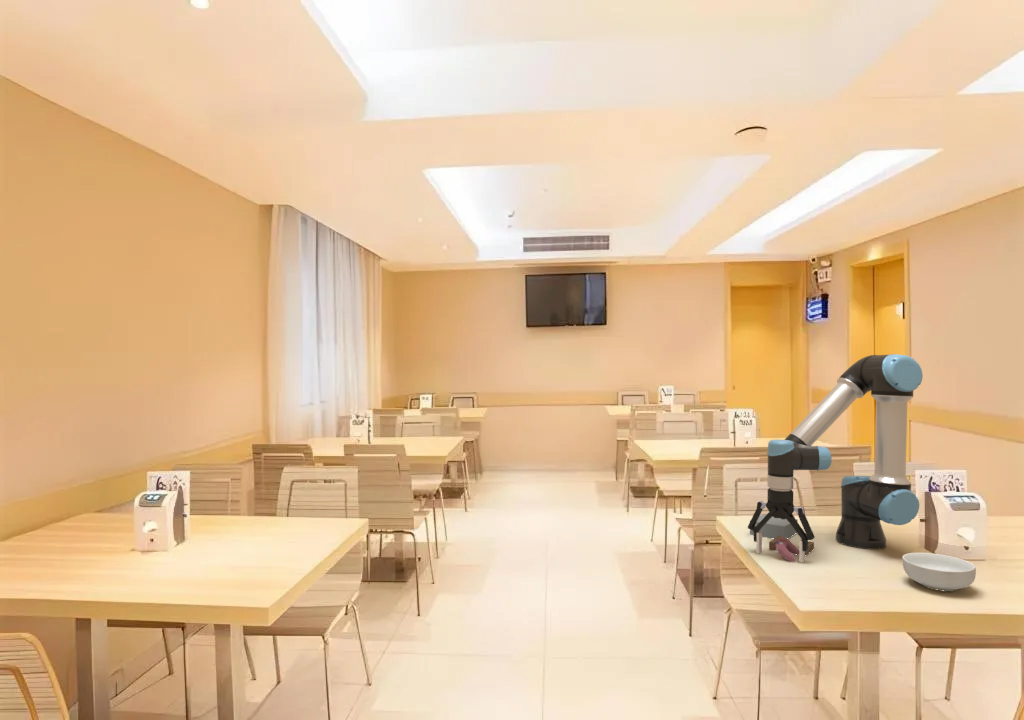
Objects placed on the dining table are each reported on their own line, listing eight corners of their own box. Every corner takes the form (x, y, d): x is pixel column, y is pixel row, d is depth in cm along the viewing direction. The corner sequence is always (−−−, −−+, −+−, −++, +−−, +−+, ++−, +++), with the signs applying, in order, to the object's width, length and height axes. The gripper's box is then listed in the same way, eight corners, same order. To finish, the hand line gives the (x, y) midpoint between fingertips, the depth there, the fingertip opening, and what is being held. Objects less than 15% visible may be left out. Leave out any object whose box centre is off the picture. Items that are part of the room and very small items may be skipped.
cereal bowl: (906, 572, 180) (906, 548, 180) (977, 585, 169) (977, 559, 169) (898, 588, 167) (898, 562, 167) (974, 603, 156) (974, 575, 156)
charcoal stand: (797, 533, 222) (797, 519, 222) (784, 541, 211) (784, 526, 211) (763, 527, 230) (763, 513, 230) (749, 534, 219) (750, 520, 219)
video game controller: (787, 557, 198) (777, 536, 200) (801, 553, 195) (790, 532, 197) (781, 565, 190) (770, 543, 191) (795, 561, 187) (784, 539, 189)
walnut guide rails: (813, 549, 201) (813, 542, 201) (804, 556, 194) (804, 548, 194) (779, 543, 209) (779, 535, 209) (769, 549, 201) (769, 541, 201)
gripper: (825, 492, 188) (825, 562, 188) (746, 482, 204) (745, 546, 204) (818, 496, 182) (818, 568, 182) (737, 485, 199) (737, 551, 198)
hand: (780, 556), depth 193 cm, fingers open, 12 cm apart
